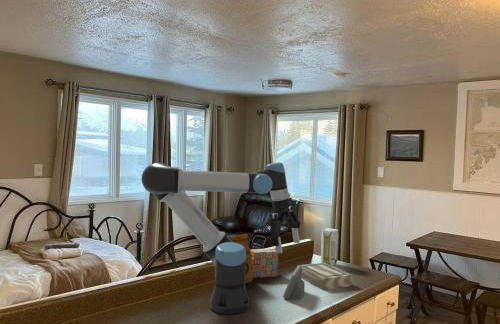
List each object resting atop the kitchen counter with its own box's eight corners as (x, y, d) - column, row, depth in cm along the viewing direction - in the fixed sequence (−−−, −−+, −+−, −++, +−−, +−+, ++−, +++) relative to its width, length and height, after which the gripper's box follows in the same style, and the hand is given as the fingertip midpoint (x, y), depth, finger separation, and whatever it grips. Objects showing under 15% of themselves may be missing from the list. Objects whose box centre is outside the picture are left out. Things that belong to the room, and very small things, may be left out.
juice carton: (338, 264, 218) (339, 229, 218) (332, 267, 211) (333, 231, 211) (325, 261, 222) (326, 227, 222) (319, 265, 215) (320, 229, 215)
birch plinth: (322, 290, 175) (323, 278, 175) (296, 275, 195) (296, 265, 195) (352, 285, 182) (352, 274, 182) (323, 272, 202) (324, 262, 202)
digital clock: (291, 287, 178) (291, 263, 178) (310, 291, 174) (311, 266, 174) (276, 298, 164) (276, 272, 164) (296, 302, 160) (297, 276, 160)
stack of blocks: (234, 279, 188) (235, 253, 188) (231, 275, 194) (232, 250, 194) (277, 276, 194) (278, 251, 194) (273, 272, 200) (274, 248, 200)
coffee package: (255, 283, 182) (256, 235, 182) (232, 288, 175) (234, 238, 174) (242, 277, 190) (243, 231, 190) (220, 282, 183) (221, 234, 182)
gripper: (270, 205, 159) (279, 257, 160) (303, 192, 178) (310, 239, 179) (255, 206, 163) (264, 256, 165) (289, 193, 183) (296, 238, 184)
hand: (288, 247), depth 172 cm, fingers open, 13 cm apart
